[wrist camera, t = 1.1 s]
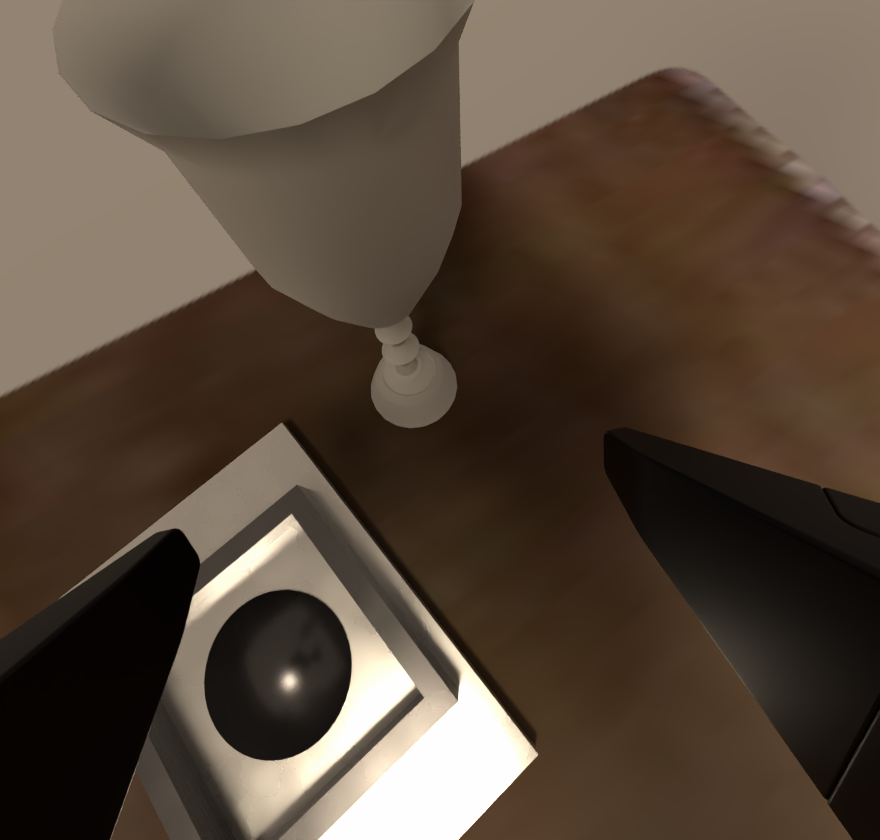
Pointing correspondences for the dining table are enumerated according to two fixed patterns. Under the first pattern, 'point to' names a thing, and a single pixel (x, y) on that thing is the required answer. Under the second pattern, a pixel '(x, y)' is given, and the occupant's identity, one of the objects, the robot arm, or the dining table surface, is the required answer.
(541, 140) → the dining table surface
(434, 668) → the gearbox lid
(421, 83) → the chalice
